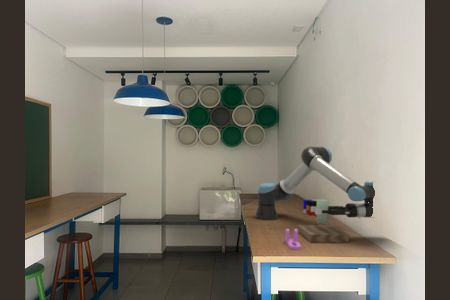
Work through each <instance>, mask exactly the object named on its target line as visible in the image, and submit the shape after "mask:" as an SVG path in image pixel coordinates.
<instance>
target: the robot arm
mask: <svg viewBox="0 0 450 300" xmlns="http://www.w3.org/2000/svg"><path fill="white" fill-rule="evenodd" d="M300 155H301V156H300V157H301V161H302V163H301V164H299V166H298V167H297V168H296V169H294V170H293V172H291V173H290V175H288V176H287V178H284V179H281V180H280V181H279V182H278V183H277V184H276V183H273V182H264V183H260V184H259V185H258V190H257V191H258V192H257V194H258V196H257V197H258V200H257V201H258V206H257V208H256V212H255V218H256V219H260V220H270V221H271V220H276V219H279V218H278V212H277V208H276V202H279V201H280V202H282V201H287V200H290V199H291V198H292V196H293V193H294V189H295V188H296V187H297V186H298V185H300V184H302V182H304V180H305V179H306V178H307V177H309V176H310V175H311V174H312V173H313V172H314V171H316V172H317V173H319V174H320V175H321V176H323V177H324V178H325V179H326V180H328V181H330V182H331V183H332V184H334V185H335V186H337V187H338V188H339V189H341V190H342V191H344V192H345V194H347V196H348V198H349V200H351V201H352V202H357V203H351V202H350V203H346V204H345V206H343V205H328V209H317V207H311V212H315V214H328V216H329V215H330V216H346V217H348V218H358V219H361V218H372V217H371V216H372V214H373V208H372V207H373V198H374V196H375V190H374V188H373V182H374V181H372V182H369V181H365V182H364V184H363V185H360V184H359V183H358V182H356V181H355V180H353V179H352V178H350V177H349V176H347V175H346V174H345V173H343V172H341V171H340V170H339V169H337V168H335V166H333V165H332V164H330V163H331V162H332V160H333V158H332V156H333V154H332V152H331V150H330V149H329V148H327V147H324V146H307V147H306V148H304V149H303V150H302V152H301V154H300ZM360 202H361V203H360ZM362 202H363V203H362ZM368 202H369V203H368Z"/></svg>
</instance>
